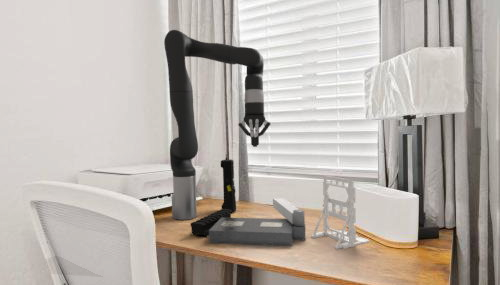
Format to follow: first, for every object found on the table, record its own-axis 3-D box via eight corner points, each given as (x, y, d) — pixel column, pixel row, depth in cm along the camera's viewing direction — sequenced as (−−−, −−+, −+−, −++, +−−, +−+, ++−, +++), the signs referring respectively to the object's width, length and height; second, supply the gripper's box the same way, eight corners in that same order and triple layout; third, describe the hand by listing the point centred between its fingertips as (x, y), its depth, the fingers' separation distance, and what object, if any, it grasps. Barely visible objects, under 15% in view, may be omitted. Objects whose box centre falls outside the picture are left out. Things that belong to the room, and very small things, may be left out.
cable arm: (306, 225, 106) (306, 211, 106) (294, 226, 106) (294, 212, 106) (282, 206, 134) (282, 195, 134) (273, 207, 133) (272, 196, 133)
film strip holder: (373, 242, 102) (373, 178, 102) (339, 250, 96) (338, 181, 96) (341, 230, 115) (340, 173, 115) (309, 236, 109) (308, 176, 109)
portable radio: (235, 213, 142) (234, 155, 141) (221, 213, 142) (220, 155, 141) (236, 209, 150) (235, 154, 149) (223, 209, 150) (221, 154, 149)
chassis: (209, 243, 105) (208, 229, 105) (221, 228, 120) (221, 216, 120) (305, 246, 100) (305, 232, 100) (305, 230, 116) (305, 218, 115)
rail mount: (218, 221, 132) (218, 208, 131) (233, 222, 129) (232, 209, 129) (187, 237, 112) (187, 222, 112) (203, 239, 109) (203, 224, 109)
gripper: (272, 102, 132) (272, 146, 132) (239, 103, 134) (240, 146, 134) (270, 100, 124) (270, 146, 125) (235, 101, 126) (236, 147, 127)
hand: (255, 146), depth 130 cm, fingers closed
